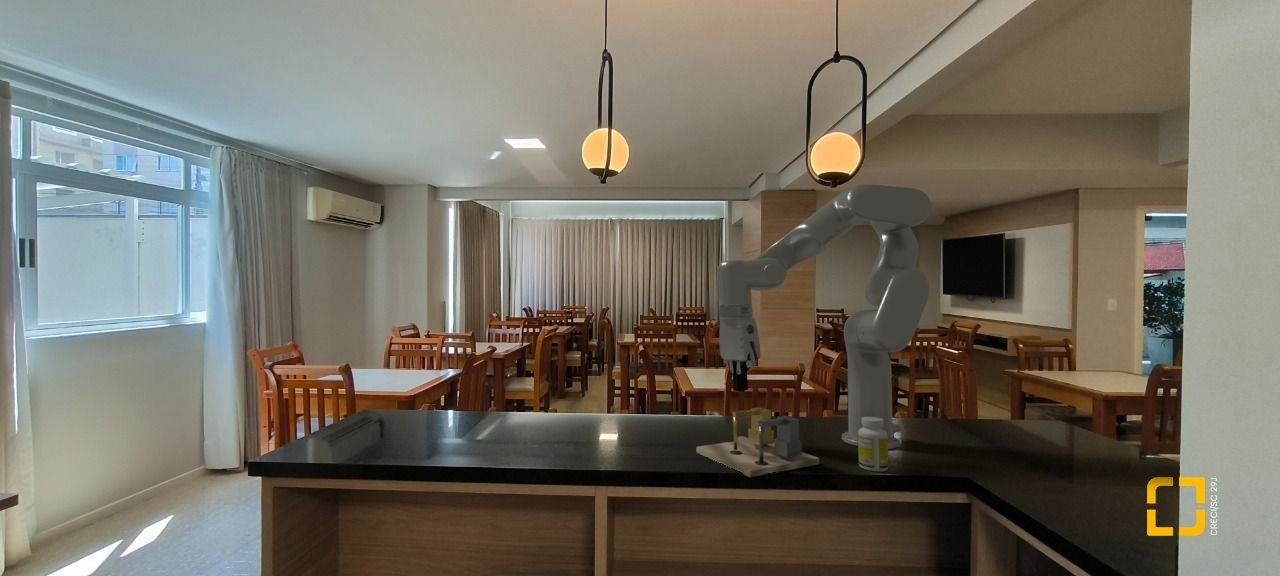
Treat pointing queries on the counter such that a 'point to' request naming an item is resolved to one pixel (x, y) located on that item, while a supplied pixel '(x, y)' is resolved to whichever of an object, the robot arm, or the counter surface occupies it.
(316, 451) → the counter surface
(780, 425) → the fixed leg
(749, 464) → the board
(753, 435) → the slider leg
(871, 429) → the supplement bottle
